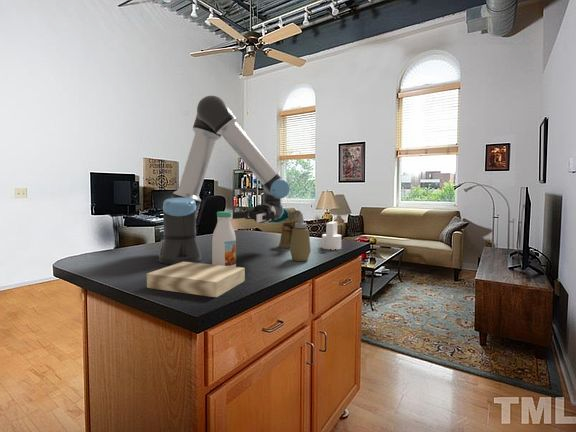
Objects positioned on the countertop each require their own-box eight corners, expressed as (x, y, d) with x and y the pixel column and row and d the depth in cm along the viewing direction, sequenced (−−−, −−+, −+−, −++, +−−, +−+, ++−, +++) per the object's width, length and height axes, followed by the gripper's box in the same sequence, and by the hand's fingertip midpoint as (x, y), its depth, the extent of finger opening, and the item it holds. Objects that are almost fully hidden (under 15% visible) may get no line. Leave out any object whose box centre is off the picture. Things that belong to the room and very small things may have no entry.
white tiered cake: (325, 245, 163) (325, 221, 162) (343, 247, 159) (343, 222, 158) (319, 248, 155) (320, 222, 154) (338, 250, 151) (339, 224, 150)
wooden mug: (288, 250, 148) (289, 210, 147) (275, 245, 160) (276, 208, 159) (306, 249, 152) (306, 210, 151) (292, 244, 164) (292, 208, 163)
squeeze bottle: (310, 258, 133) (311, 213, 132) (310, 262, 125) (311, 215, 124) (290, 257, 134) (291, 212, 133) (288, 261, 126) (289, 214, 125)
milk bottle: (215, 276, 105) (215, 212, 103) (209, 270, 112) (209, 211, 110) (239, 273, 109) (239, 212, 107) (231, 268, 115) (231, 210, 114)
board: (147, 287, 92) (146, 273, 92) (183, 273, 107) (182, 261, 107) (216, 297, 85) (216, 282, 85) (244, 280, 100) (244, 267, 100)
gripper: (292, 223, 134) (272, 229, 114) (236, 221, 142) (209, 227, 122) (292, 204, 134) (272, 208, 114) (236, 203, 142) (209, 207, 122)
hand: (239, 218), depth 118 cm, fingers open, 13 cm apart
